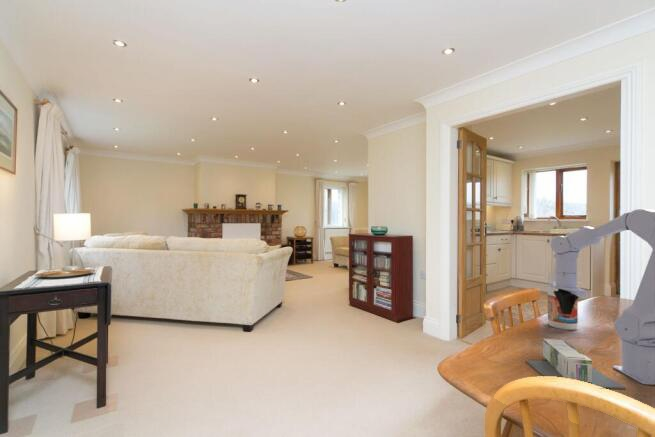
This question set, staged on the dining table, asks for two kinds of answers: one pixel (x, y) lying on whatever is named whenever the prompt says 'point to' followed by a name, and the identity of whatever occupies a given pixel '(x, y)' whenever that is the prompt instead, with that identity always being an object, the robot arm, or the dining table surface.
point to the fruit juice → (554, 310)
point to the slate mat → (549, 370)
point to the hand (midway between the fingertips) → (566, 313)
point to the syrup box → (567, 360)
